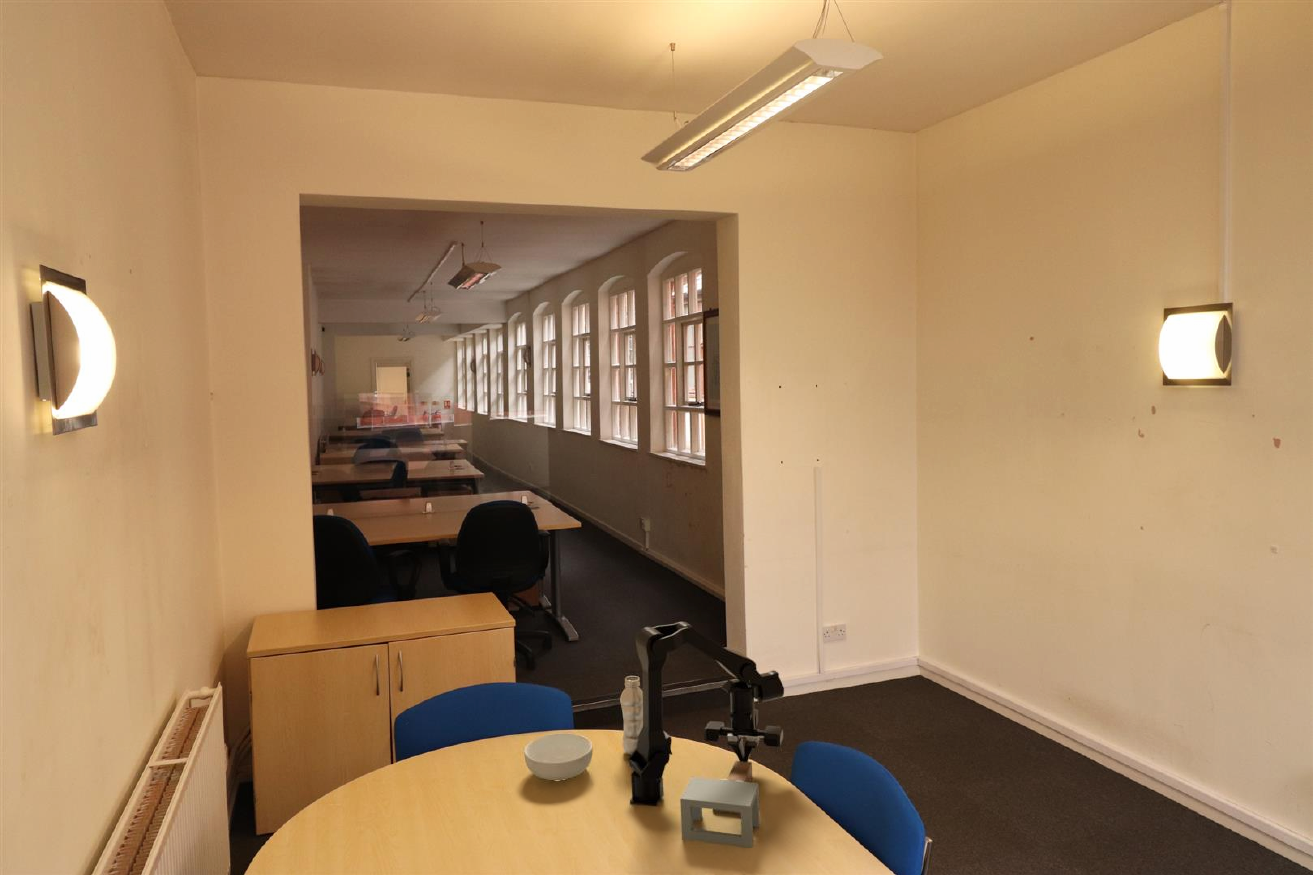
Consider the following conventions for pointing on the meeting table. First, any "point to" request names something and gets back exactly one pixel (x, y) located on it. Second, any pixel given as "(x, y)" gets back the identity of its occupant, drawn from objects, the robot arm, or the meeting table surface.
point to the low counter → (720, 798)
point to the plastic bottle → (632, 713)
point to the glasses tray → (739, 776)
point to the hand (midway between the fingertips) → (744, 766)
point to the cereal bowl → (558, 755)
